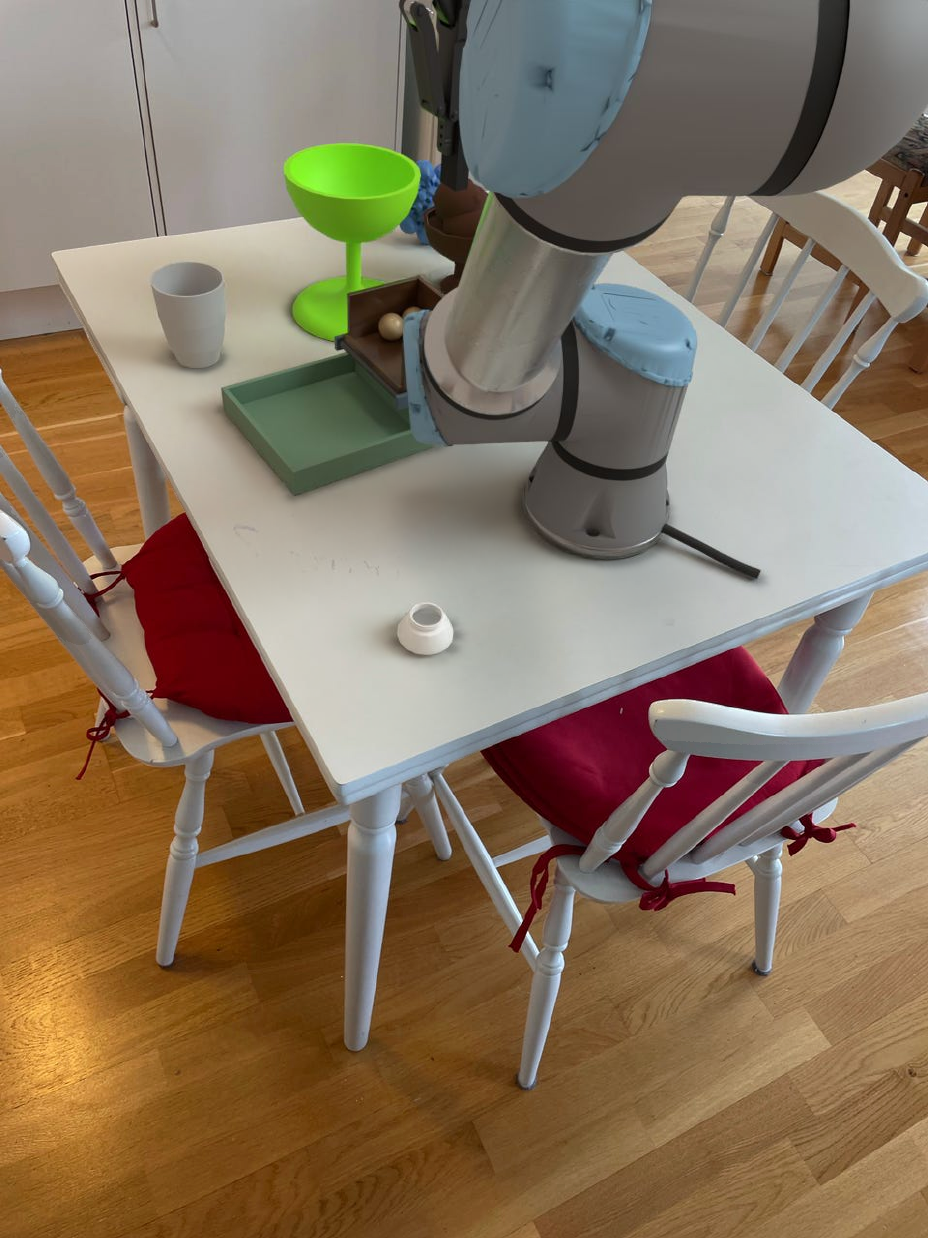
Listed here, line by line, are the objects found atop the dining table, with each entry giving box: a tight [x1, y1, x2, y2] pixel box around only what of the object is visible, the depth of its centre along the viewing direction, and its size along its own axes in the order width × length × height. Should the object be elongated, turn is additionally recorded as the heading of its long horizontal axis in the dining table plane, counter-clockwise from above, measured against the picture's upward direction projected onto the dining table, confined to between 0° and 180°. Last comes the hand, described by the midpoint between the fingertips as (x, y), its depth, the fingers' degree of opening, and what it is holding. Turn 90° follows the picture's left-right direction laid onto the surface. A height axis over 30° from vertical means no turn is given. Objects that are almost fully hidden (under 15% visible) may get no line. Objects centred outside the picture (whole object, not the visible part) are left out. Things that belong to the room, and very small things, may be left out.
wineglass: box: [283, 142, 421, 342], centre depth 118 cm, size 16×16×18 cm
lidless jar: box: [396, 601, 454, 656], centre depth 86 cm, size 5×3×5 cm
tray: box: [220, 351, 435, 496], centre depth 106 cm, size 17×17×3 cm
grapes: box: [398, 158, 441, 245], centre depth 135 cm, size 12×7×12 cm, turn 113°
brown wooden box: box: [340, 274, 445, 398], centre depth 105 cm, size 12×10×6 cm
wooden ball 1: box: [378, 313, 403, 341], centre depth 108 cm, size 3×3×3 cm
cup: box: [149, 261, 227, 369], centre depth 111 cm, size 8×8×10 cm
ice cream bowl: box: [423, 177, 489, 295], centre depth 126 cm, size 11×11×15 cm
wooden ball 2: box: [401, 307, 422, 320], centre depth 109 cm, size 3×3×3 cm
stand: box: [334, 334, 409, 410], centre depth 109 cm, size 14×10×7 cm
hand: (453, 184), depth 96 cm, fingers closed
